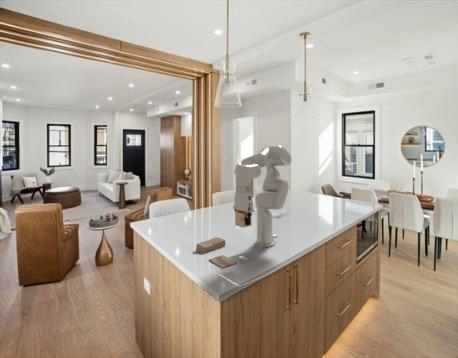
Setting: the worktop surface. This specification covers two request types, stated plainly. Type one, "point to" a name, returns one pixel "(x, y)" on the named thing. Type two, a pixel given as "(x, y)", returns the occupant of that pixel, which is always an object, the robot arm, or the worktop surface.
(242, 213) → the oak block
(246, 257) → the pad
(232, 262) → the walnut board
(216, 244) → the brick
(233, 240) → the worktop surface
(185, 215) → the worktop surface
